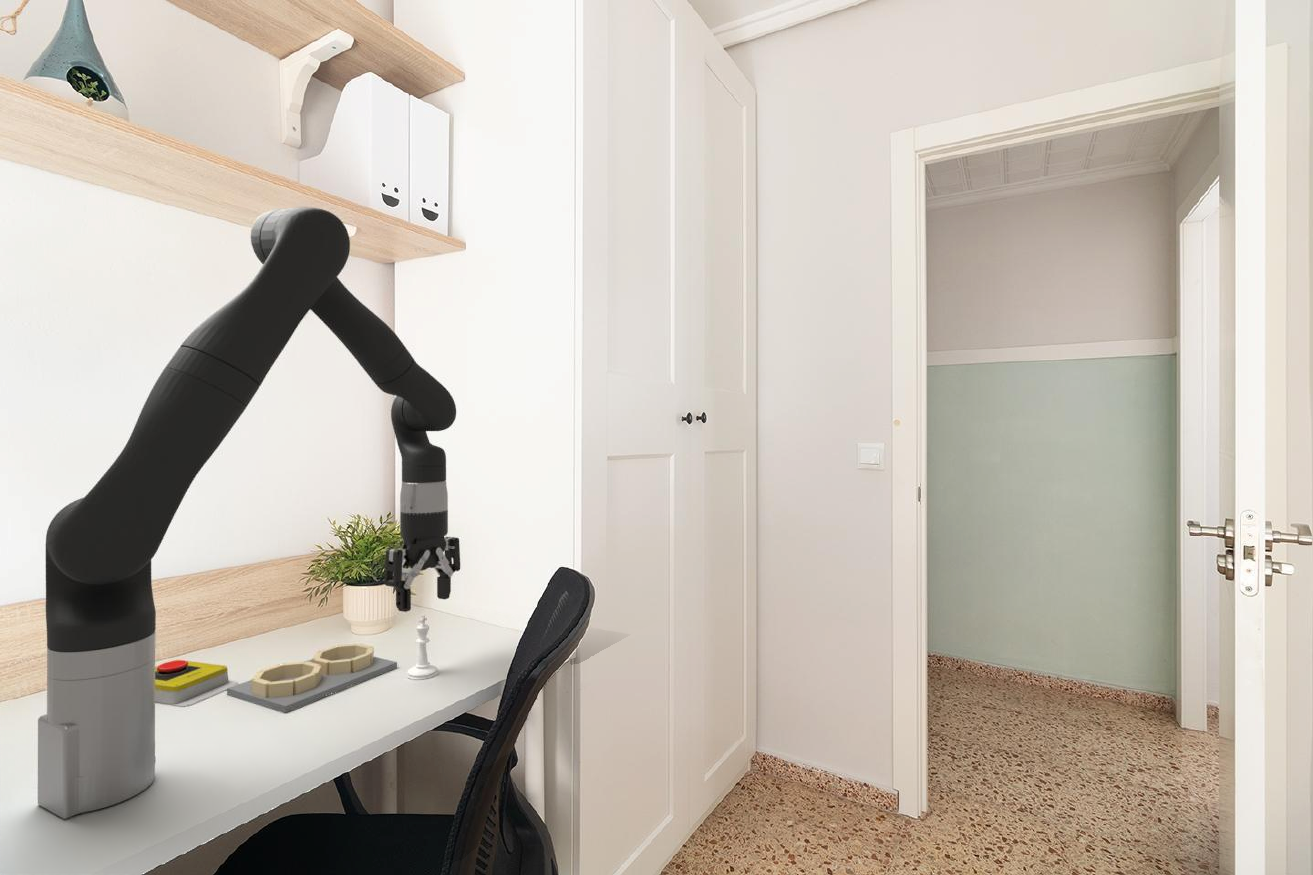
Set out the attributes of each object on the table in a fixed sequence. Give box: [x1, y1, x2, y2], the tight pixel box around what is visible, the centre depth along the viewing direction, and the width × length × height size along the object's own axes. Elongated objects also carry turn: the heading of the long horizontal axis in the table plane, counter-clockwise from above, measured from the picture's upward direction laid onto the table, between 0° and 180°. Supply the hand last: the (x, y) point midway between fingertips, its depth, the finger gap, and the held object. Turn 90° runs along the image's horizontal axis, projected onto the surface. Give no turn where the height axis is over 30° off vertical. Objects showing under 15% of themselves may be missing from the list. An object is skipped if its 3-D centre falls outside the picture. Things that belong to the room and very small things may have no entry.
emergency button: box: [155, 659, 239, 708], centre depth 100 cm, size 9×4×15 cm
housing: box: [226, 643, 398, 714], centre depth 104 cm, size 20×14×3 cm
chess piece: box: [406, 614, 439, 681], centre depth 107 cm, size 5×5×10 cm
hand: (424, 604), depth 107 cm, fingers open, 8 cm apart
